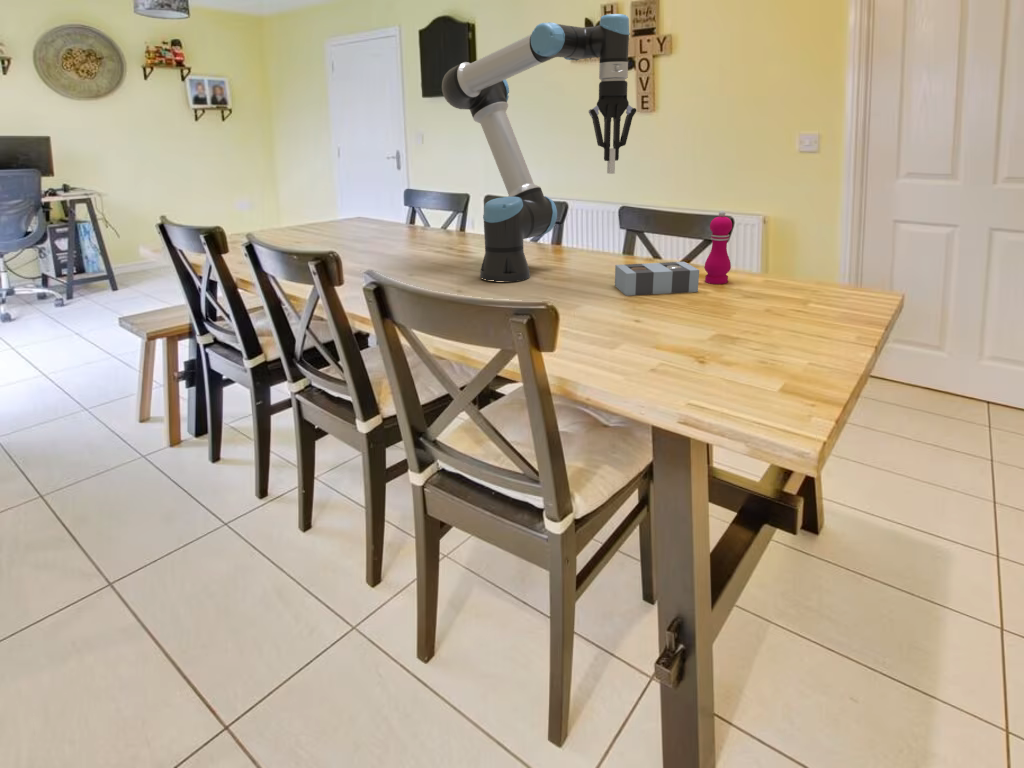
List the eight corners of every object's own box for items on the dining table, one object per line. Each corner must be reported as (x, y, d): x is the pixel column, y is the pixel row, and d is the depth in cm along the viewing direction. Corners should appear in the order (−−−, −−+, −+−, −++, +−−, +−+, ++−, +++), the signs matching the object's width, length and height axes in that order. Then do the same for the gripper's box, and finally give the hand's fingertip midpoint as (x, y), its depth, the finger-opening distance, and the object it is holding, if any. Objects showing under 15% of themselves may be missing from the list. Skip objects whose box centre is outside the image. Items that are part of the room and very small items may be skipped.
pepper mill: (730, 284, 189) (737, 212, 182) (704, 284, 191) (709, 212, 183) (728, 279, 196) (734, 209, 189) (702, 278, 197) (707, 209, 190)
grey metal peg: (668, 289, 186) (669, 268, 183) (663, 286, 189) (664, 265, 187) (682, 288, 186) (683, 267, 184) (677, 285, 190) (678, 264, 188)
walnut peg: (632, 291, 185) (633, 270, 183) (628, 287, 188) (629, 267, 186) (646, 290, 185) (647, 269, 183) (642, 287, 189) (643, 266, 187)
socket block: (625, 295, 181) (626, 273, 179) (614, 285, 192) (615, 264, 190) (697, 291, 183) (699, 269, 180) (682, 282, 194) (684, 261, 192)
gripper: (592, 80, 174) (590, 175, 183) (641, 79, 175) (637, 173, 184) (586, 82, 181) (585, 173, 190) (633, 80, 182) (630, 171, 191)
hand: (610, 173), depth 187 cm, fingers closed
